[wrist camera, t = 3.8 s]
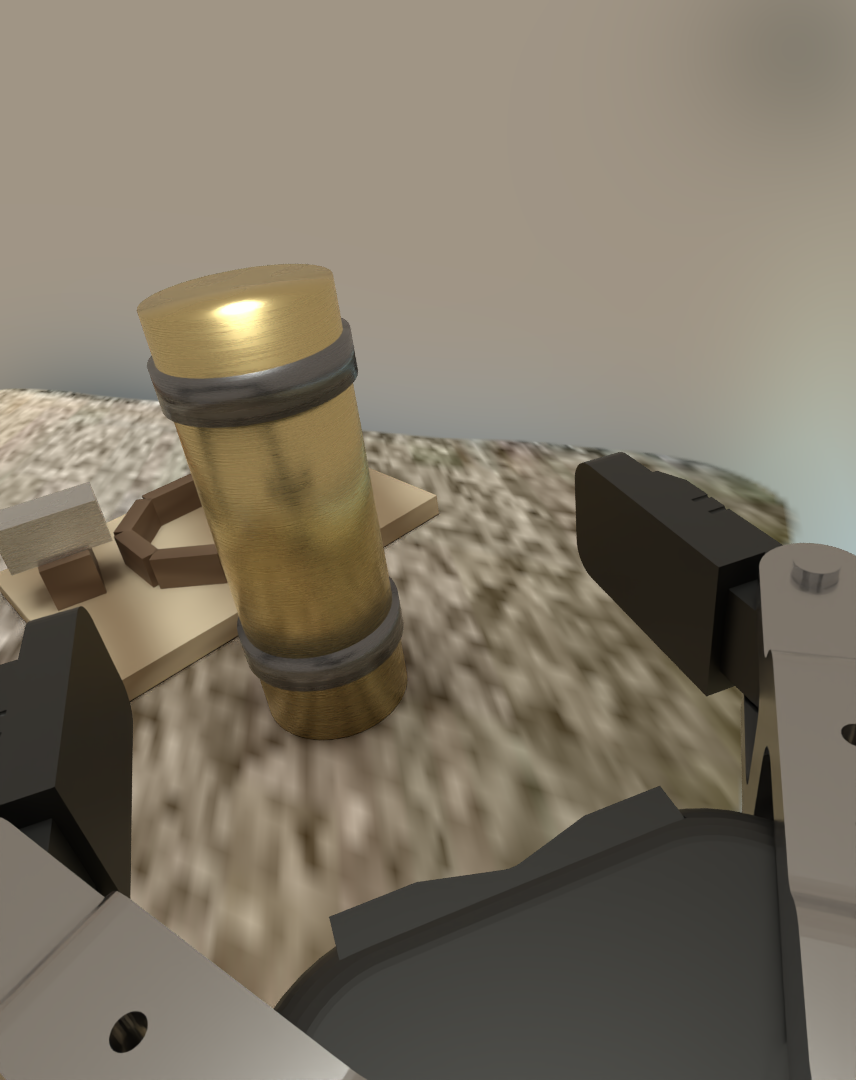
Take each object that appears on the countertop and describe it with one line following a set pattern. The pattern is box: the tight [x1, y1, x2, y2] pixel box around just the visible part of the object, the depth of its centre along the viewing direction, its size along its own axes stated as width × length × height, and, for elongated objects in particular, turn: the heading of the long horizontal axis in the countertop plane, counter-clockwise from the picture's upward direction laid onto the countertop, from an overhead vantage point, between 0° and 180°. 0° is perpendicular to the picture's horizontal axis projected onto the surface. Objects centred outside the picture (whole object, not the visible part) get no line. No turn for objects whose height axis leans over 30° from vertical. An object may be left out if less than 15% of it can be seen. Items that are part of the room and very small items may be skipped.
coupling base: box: [0, 468, 439, 701], centre depth 34 cm, size 17×12×3 cm
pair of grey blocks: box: [0, 482, 113, 575], centre depth 34 cm, size 16×3×2 cm, turn 134°
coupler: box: [137, 264, 407, 740], centre depth 23 cm, size 5×5×14 cm
